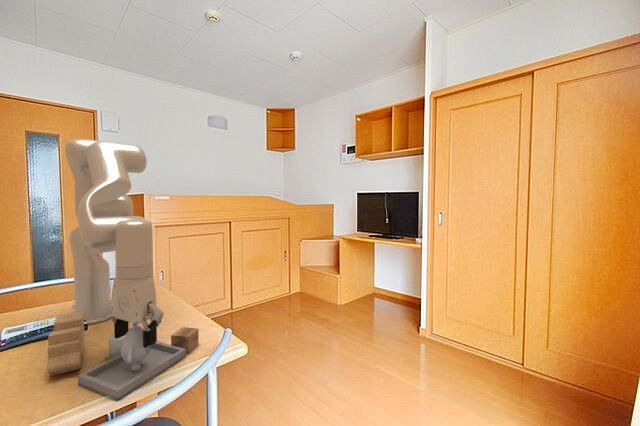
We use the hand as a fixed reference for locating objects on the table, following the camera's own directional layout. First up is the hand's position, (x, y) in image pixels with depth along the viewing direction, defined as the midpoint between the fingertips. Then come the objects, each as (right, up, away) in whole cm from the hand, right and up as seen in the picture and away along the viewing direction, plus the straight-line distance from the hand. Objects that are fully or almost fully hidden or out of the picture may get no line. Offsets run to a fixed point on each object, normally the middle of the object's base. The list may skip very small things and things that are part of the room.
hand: (135, 340), depth 71 cm
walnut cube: (+7, -7, +10) cm, 14 cm away
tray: (0, -7, 0) cm, 7 cm away
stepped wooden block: (-19, -7, +3) cm, 20 cm away
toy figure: (0, -7, 0) cm, 7 cm away
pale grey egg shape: (-8, -7, +7) cm, 12 cm away
